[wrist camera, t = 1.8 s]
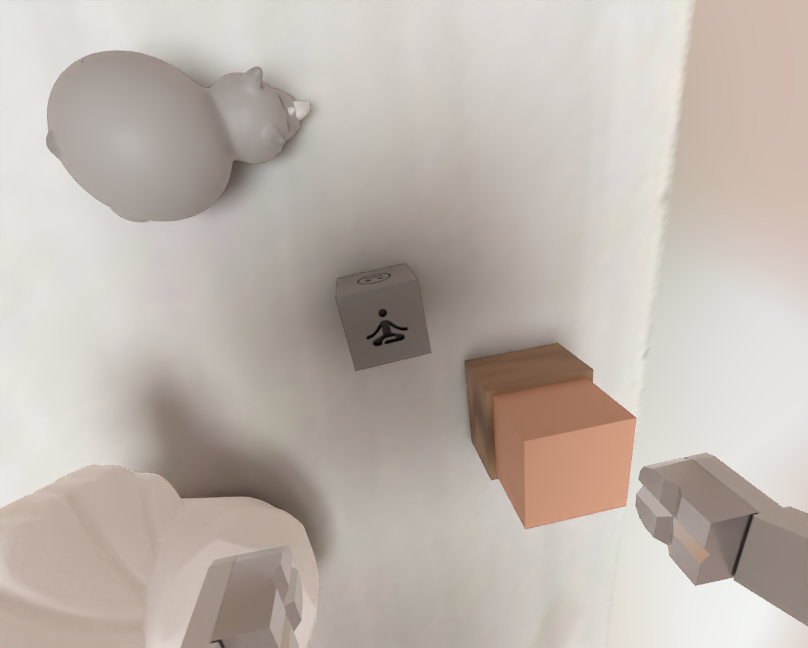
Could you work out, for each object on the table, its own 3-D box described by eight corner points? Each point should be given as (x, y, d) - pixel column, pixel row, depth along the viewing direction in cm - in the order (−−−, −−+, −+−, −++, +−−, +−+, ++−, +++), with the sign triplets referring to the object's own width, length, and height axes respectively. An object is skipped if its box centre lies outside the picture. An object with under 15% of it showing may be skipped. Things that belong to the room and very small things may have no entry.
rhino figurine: (308, 184, 27) (355, 170, 20) (119, 237, 22) (91, 244, 15) (268, 67, 24) (307, 2, 17) (42, 100, 19) (-37, 29, 12)
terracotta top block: (581, 455, 30) (625, 505, 25) (496, 473, 29) (525, 529, 24) (586, 377, 27) (636, 417, 22) (492, 396, 26) (524, 441, 22)
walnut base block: (555, 421, 34) (588, 458, 30) (470, 439, 34) (491, 480, 29) (556, 342, 31) (593, 369, 27) (464, 360, 31) (485, 391, 26)
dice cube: (353, 340, 29) (355, 371, 24) (336, 277, 27) (335, 297, 22) (417, 325, 29) (431, 352, 24) (405, 262, 27) (417, 279, 23)
